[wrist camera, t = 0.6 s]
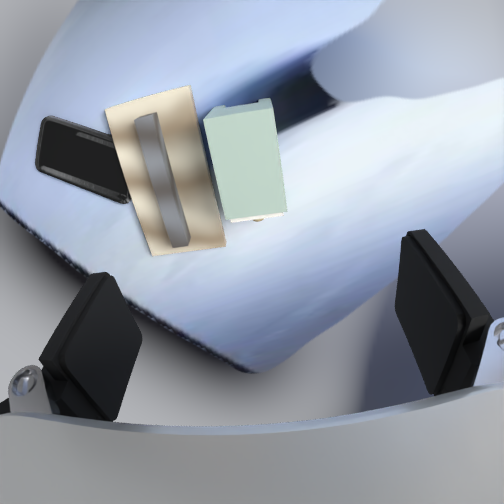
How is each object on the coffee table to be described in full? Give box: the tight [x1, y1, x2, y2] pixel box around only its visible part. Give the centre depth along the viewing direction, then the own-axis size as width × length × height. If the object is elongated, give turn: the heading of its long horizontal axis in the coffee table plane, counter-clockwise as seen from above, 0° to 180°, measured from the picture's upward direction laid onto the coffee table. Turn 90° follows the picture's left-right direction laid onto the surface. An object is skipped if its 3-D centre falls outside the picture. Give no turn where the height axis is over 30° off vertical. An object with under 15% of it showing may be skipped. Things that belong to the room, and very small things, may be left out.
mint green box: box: [203, 98, 287, 223], centre depth 32 cm, size 11×6×8 cm, turn 9°
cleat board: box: [105, 85, 226, 256], centre depth 36 cm, size 20×10×3 cm, turn 9°
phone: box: [35, 116, 132, 204], centre depth 35 cm, size 8×1×15 cm
